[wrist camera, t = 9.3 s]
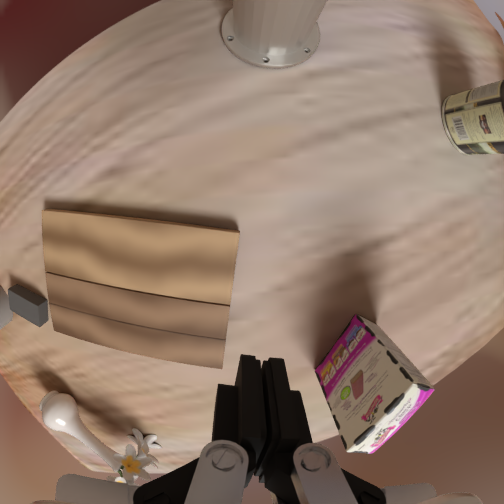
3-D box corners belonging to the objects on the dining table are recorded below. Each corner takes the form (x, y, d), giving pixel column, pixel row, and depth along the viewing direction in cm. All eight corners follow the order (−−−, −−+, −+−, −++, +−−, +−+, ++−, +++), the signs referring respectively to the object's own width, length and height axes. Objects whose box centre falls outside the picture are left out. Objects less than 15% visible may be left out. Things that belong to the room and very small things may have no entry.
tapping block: (19, 303, 34) (9, 309, 31) (18, 283, 33) (7, 289, 30) (49, 319, 35) (39, 327, 32) (48, 299, 34) (38, 306, 31)
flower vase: (77, 388, 46) (165, 456, 44) (28, 431, 29) (125, 513, 27) (77, 358, 42) (181, 440, 39) (14, 407, 25) (132, 511, 22)
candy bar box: (337, 378, 39) (372, 455, 23) (313, 370, 38) (343, 453, 22) (379, 323, 37) (437, 390, 21) (355, 311, 36) (413, 383, 20)
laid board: (51, 269, 33) (45, 272, 31) (230, 301, 35) (229, 306, 33) (58, 326, 35) (53, 330, 34) (222, 362, 37) (222, 369, 35)
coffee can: (485, 129, 29) (543, 125, 16) (467, 168, 31) (533, 171, 17) (453, 83, 28) (511, 64, 14) (431, 118, 29) (499, 103, 16)
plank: (47, 208, 30) (41, 210, 29) (239, 230, 32) (239, 233, 31) (50, 267, 33) (45, 271, 31) (230, 299, 35) (230, 304, 33)
